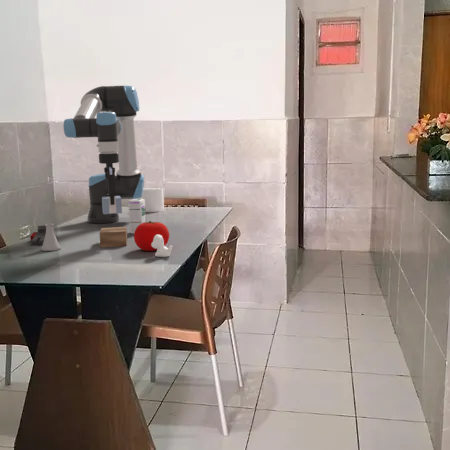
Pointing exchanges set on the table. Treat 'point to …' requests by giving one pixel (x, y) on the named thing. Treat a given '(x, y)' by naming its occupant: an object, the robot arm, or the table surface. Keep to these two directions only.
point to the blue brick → (106, 205)
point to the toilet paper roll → (153, 199)
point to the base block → (113, 237)
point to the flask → (50, 239)
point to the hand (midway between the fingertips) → (112, 211)
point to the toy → (39, 235)
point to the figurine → (161, 247)
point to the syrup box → (136, 213)
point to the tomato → (150, 234)
